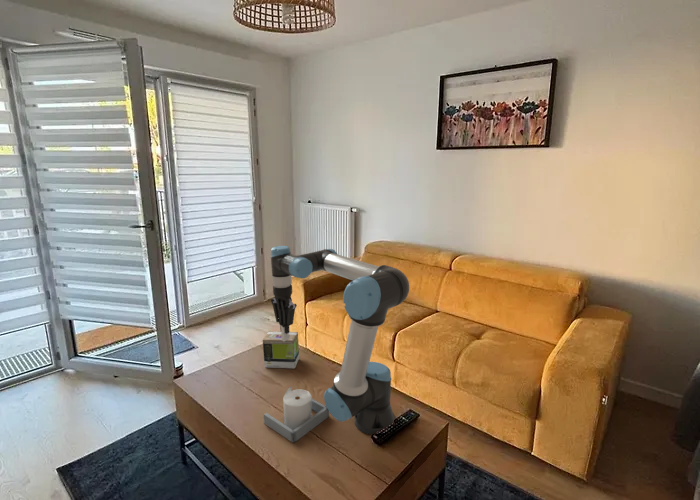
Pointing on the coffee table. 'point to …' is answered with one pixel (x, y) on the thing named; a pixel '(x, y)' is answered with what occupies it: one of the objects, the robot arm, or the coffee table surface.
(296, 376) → the coffee table surface
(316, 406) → the grey u-shaped bracket
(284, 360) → the tea box
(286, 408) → the toilet tissue
